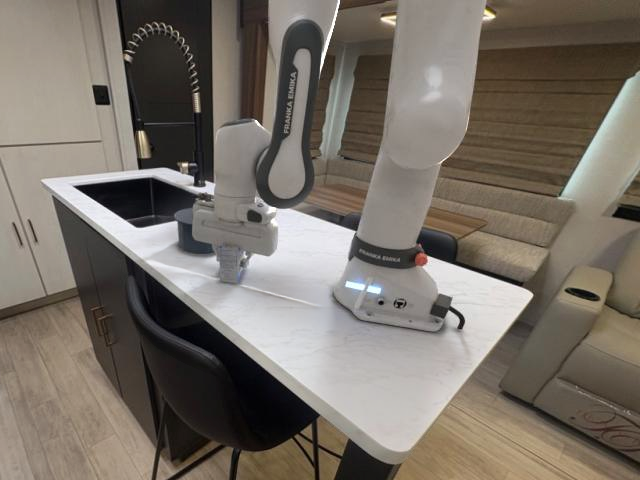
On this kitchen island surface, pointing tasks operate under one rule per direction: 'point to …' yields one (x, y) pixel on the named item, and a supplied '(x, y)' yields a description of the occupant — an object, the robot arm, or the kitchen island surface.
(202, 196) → the lighter
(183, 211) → the pot lid
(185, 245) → the pot
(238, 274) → the medicine box
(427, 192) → the robot arm
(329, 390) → the kitchen island surface
